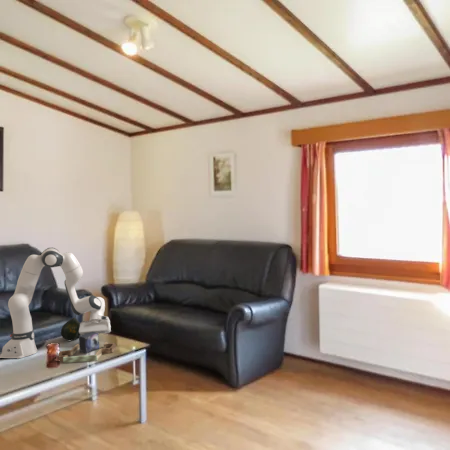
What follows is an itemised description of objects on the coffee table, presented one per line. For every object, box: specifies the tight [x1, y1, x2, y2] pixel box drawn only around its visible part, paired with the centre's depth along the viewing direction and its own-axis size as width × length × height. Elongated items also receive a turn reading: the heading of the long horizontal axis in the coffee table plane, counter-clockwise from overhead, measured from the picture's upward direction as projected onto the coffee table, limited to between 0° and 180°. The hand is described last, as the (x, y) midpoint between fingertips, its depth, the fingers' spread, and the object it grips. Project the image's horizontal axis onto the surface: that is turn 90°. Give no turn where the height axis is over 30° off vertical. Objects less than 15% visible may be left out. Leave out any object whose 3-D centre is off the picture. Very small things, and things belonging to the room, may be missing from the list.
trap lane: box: [58, 341, 117, 364], centre depth 276 cm, size 32×25×3 cm
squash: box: [60, 317, 81, 341], centre depth 310 cm, size 14×15×15 cm
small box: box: [78, 332, 101, 355], centre depth 282 cm, size 11×6×10 cm, turn 143°
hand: (93, 339), depth 291 cm, fingers closed
